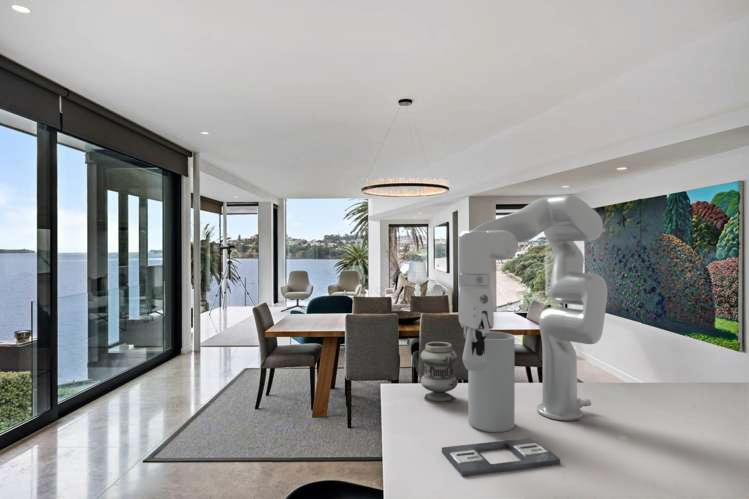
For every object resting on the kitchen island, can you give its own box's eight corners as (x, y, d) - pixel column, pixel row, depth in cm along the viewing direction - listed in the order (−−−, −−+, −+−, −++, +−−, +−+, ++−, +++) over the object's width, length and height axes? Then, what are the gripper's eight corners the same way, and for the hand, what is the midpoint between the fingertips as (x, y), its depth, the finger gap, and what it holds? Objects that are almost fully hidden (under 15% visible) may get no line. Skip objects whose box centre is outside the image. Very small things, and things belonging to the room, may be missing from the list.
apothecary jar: (421, 392, 155) (421, 339, 155) (456, 393, 153) (456, 340, 153) (420, 404, 143) (419, 347, 143) (458, 405, 141) (458, 348, 141)
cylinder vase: (483, 413, 135) (483, 329, 135) (522, 424, 126) (522, 335, 126) (459, 424, 126) (459, 335, 126) (499, 437, 117) (499, 341, 117)
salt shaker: (487, 372, 106) (487, 317, 106) (462, 371, 107) (462, 317, 107) (485, 366, 112) (485, 314, 112) (462, 365, 113) (462, 313, 113)
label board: (530, 442, 114) (530, 436, 114) (560, 464, 103) (560, 457, 103) (441, 452, 109) (441, 446, 109) (462, 476, 97) (462, 469, 97)
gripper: (506, 283, 103) (506, 363, 103) (472, 278, 119) (472, 348, 119) (476, 284, 101) (476, 365, 101) (446, 279, 117) (446, 350, 117)
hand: (474, 355), depth 110 cm, fingers closed on salt shaker, 3 cm apart
